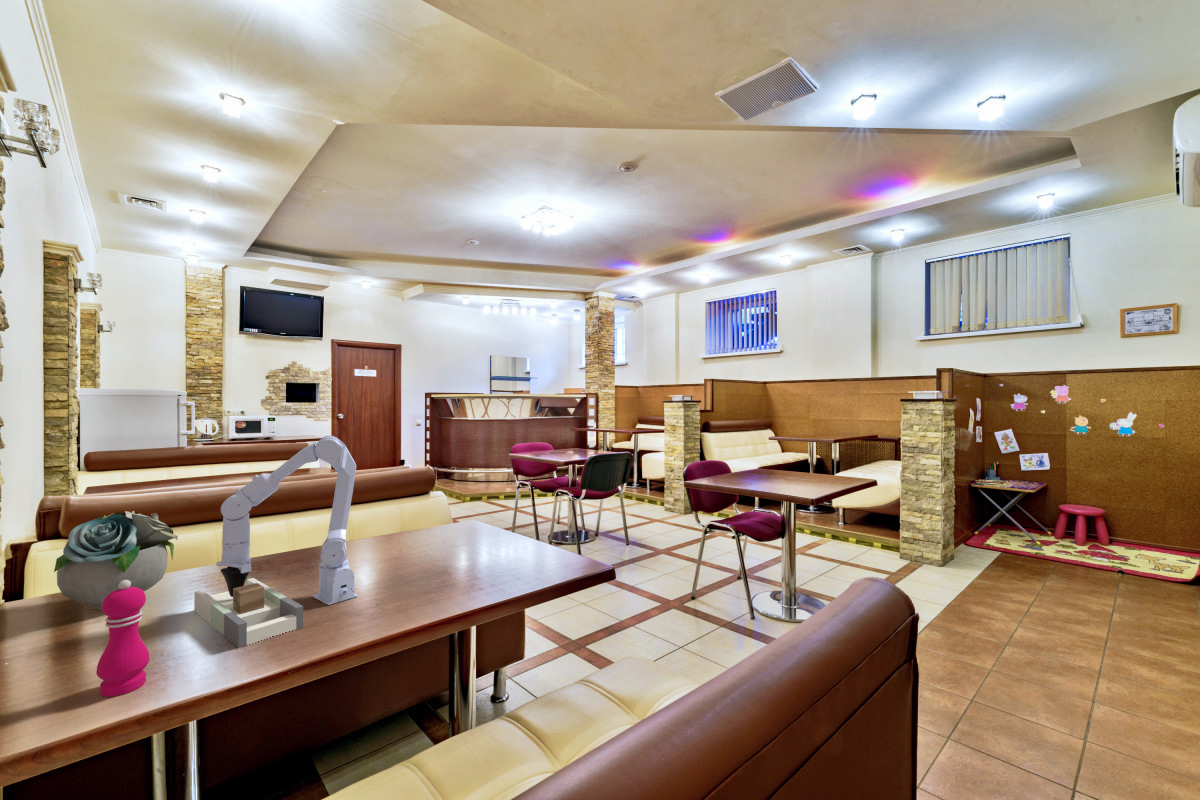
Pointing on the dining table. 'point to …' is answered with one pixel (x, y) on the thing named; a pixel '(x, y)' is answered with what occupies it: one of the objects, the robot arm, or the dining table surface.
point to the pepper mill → (123, 642)
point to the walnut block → (248, 598)
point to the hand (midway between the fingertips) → (235, 595)
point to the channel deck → (249, 615)
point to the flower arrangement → (113, 556)
